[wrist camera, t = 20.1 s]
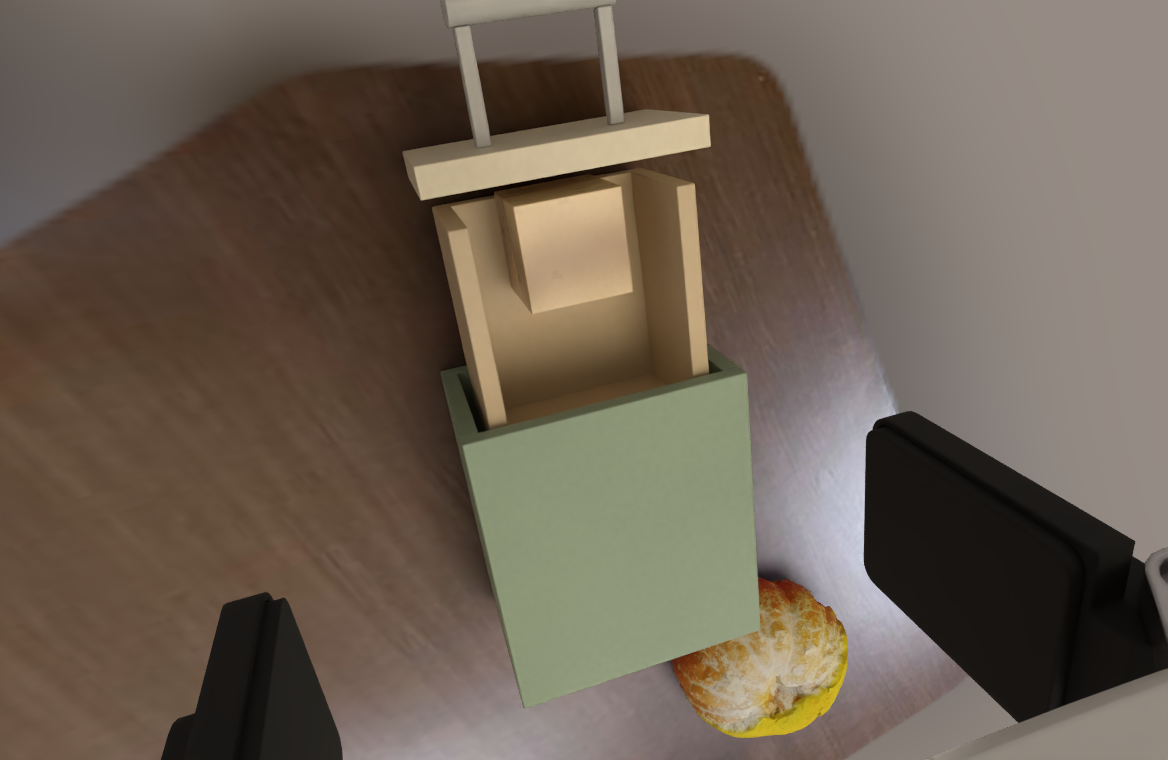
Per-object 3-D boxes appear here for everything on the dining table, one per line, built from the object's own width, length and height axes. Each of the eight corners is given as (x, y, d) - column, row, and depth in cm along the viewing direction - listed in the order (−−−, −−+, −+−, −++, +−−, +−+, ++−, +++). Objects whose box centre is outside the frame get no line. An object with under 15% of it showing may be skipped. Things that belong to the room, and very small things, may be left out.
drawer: (368, 6, 30) (372, -14, 24) (633, -29, 32) (698, -56, 26) (465, 424, 38) (486, 489, 32) (672, 372, 40) (729, 423, 34)
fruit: (824, 541, 48) (899, 649, 42) (787, 632, 55) (847, 737, 49) (666, 577, 45) (722, 699, 39) (647, 669, 52) (693, 785, 46)
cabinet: (439, 370, 37) (461, 445, 29) (671, 316, 40) (747, 372, 32) (494, 598, 43) (523, 709, 35) (693, 538, 46) (761, 630, 38)
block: (493, 191, 33) (512, 206, 29) (589, 173, 34) (621, 185, 30) (511, 288, 35) (531, 315, 31) (602, 268, 35) (633, 292, 31)
